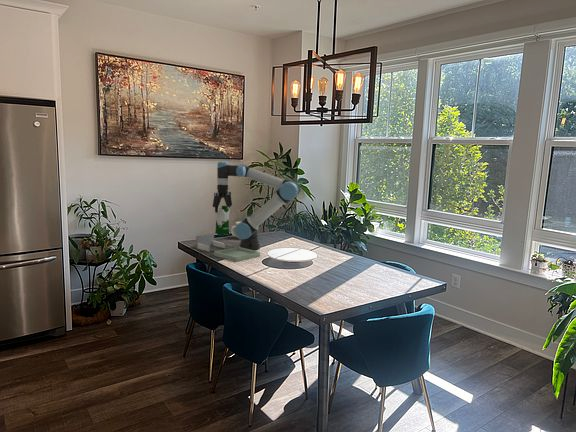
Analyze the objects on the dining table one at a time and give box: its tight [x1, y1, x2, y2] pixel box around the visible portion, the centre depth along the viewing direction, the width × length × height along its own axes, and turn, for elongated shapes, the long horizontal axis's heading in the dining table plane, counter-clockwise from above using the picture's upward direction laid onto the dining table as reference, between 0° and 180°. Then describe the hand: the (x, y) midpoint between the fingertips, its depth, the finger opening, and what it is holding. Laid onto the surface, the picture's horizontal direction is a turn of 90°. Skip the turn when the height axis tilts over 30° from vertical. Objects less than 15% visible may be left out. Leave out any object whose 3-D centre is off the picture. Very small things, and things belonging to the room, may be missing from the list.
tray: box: [213, 246, 261, 263], centre depth 286 cm, size 22×22×3 cm
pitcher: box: [230, 220, 242, 240], centre depth 343 cm, size 11×18×14 cm, turn 128°
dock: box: [195, 233, 226, 252], centre depth 306 cm, size 14×15×9 cm
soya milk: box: [214, 205, 231, 236], centre depth 296 cm, size 9×9×20 cm
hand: (222, 216), depth 296 cm, fingers closed on soya milk, 9 cm apart
